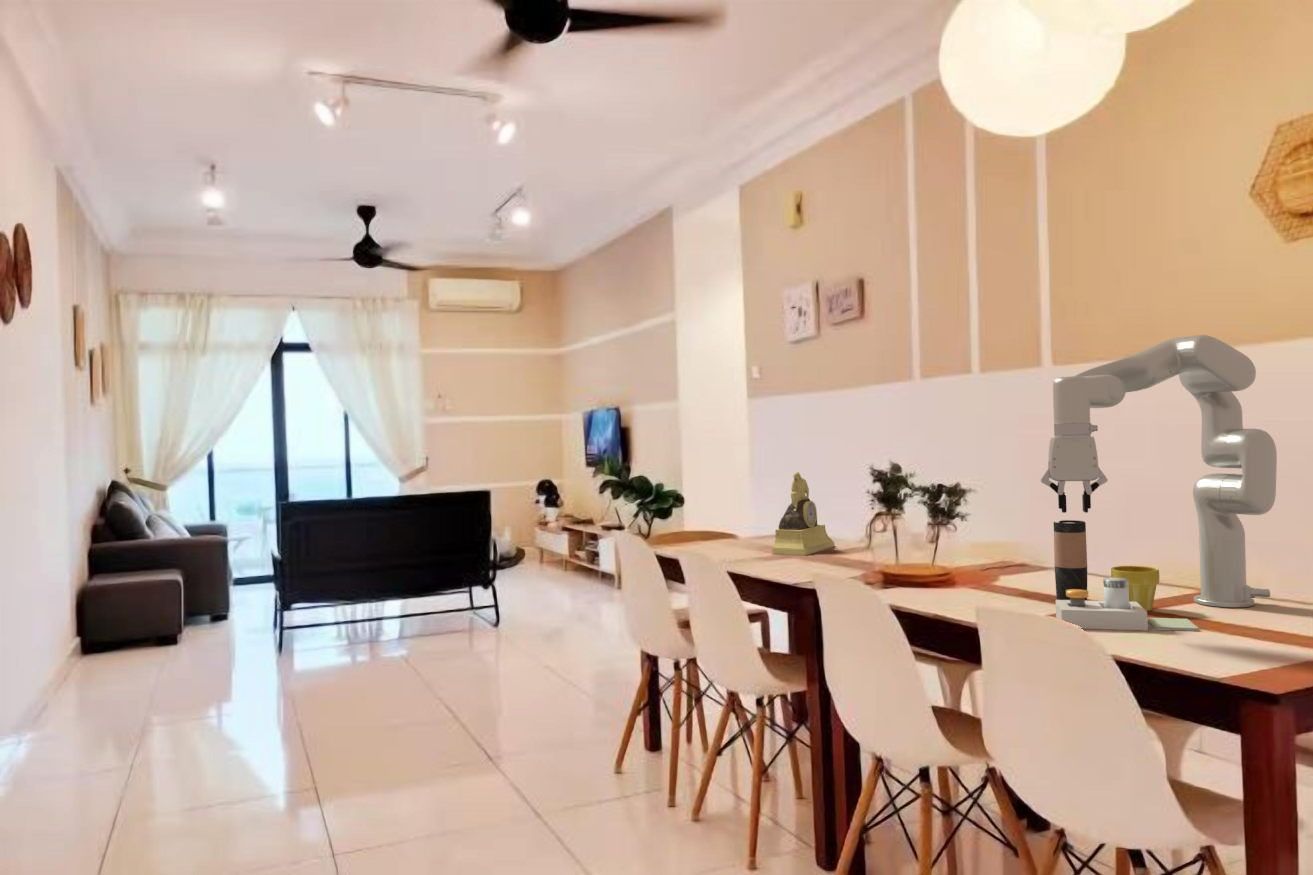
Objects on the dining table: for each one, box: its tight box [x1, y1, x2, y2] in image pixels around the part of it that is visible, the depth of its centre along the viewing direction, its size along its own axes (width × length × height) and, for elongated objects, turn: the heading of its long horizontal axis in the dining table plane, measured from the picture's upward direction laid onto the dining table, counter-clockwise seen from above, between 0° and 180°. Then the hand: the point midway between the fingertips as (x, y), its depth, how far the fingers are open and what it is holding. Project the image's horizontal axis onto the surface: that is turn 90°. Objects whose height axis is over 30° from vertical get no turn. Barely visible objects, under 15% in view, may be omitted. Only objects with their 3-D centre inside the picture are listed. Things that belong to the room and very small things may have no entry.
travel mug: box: [1053, 519, 1088, 601], centre depth 233 cm, size 8×8×20 cm
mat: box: [1147, 617, 1200, 632], centre depth 201 cm, size 8×10×1 cm
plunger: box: [1066, 589, 1090, 607], centre depth 207 cm, size 5×5×4 cm
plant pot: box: [1110, 565, 1160, 612], centre depth 220 cm, size 10×10×10 cm
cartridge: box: [1103, 577, 1129, 609], centre depth 204 cm, size 5×5×10 cm
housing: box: [1055, 599, 1149, 631], centre depth 205 cm, size 17×12×4 cm
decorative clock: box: [771, 471, 836, 557], centre depth 346 cm, size 28×13×30 cm, turn 147°
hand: (1074, 511), depth 206 cm, fingers open, 3 cm apart
